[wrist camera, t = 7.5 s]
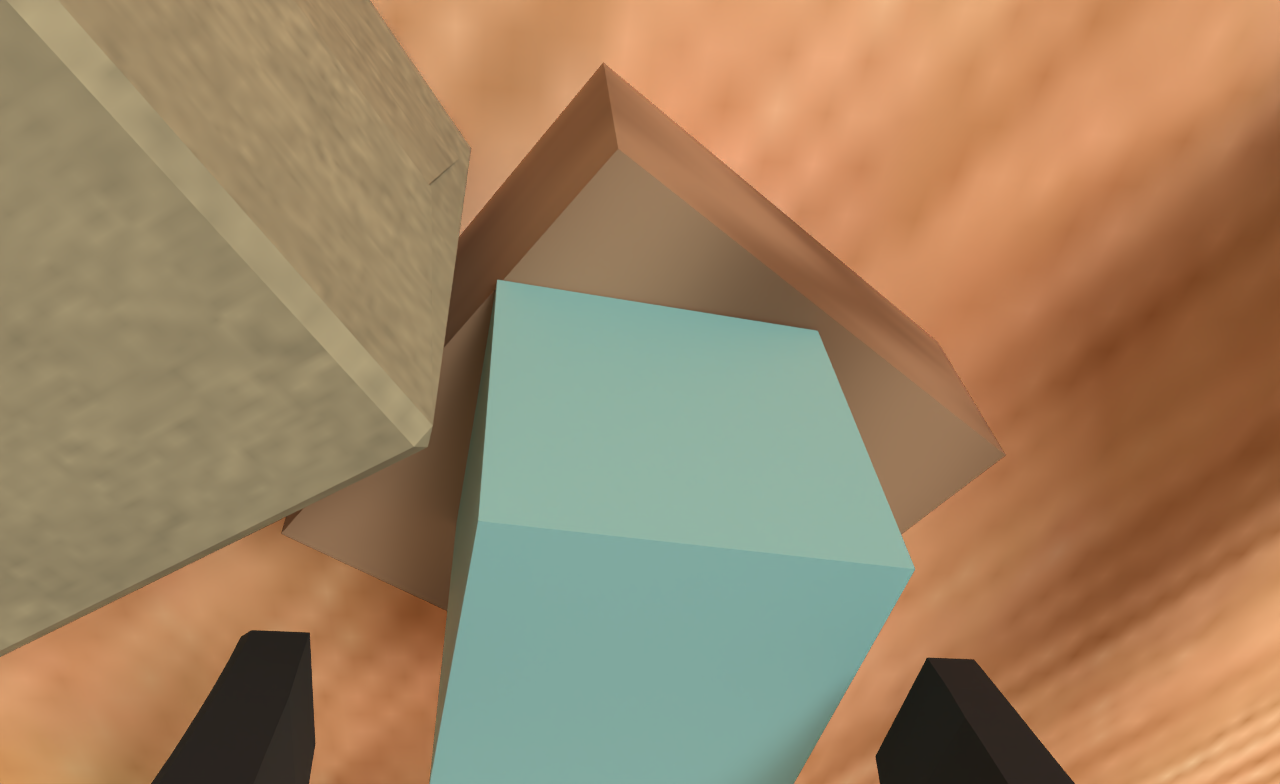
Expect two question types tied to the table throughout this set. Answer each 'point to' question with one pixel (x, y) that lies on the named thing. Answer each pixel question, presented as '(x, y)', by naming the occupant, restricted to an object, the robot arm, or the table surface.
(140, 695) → the table surface
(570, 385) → the teal cube
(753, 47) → the table surface
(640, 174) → the walnut block
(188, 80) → the tissue box
